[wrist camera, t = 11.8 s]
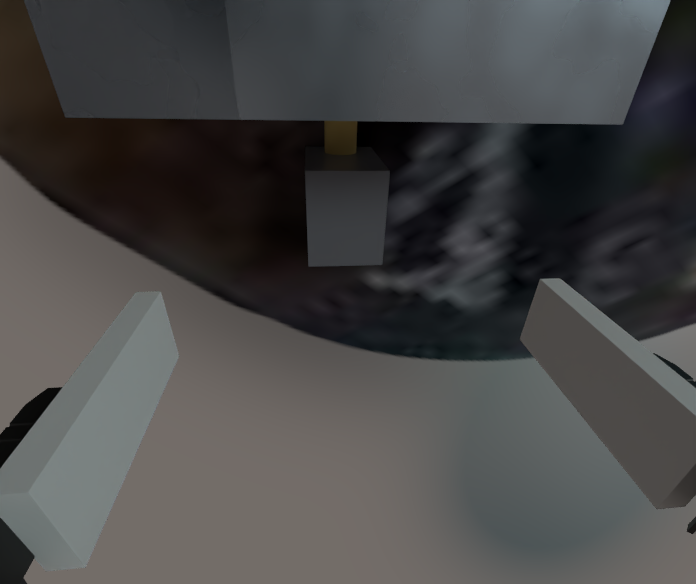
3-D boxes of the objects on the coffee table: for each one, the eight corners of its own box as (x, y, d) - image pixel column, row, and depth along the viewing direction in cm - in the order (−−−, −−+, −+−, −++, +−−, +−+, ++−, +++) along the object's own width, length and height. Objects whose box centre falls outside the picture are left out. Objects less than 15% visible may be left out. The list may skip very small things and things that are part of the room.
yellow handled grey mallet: (292, -227, 14) (284, -386, 9) (391, -216, 15) (435, -363, 10) (307, 224, 24) (308, 266, 19) (366, 224, 25) (382, 264, 20)
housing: (117, -41, 17) (-172, -205, 7) (531, -19, 19) (800, -121, 9) (150, 96, 20) (-16, 129, 10) (504, 103, 22) (679, 135, 11)
